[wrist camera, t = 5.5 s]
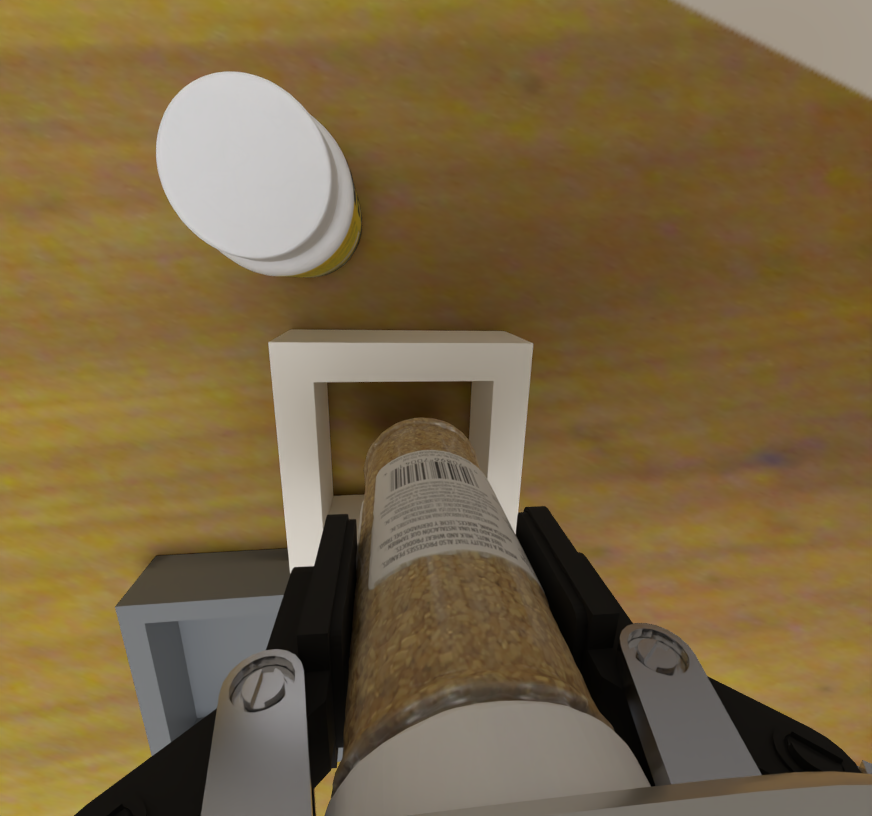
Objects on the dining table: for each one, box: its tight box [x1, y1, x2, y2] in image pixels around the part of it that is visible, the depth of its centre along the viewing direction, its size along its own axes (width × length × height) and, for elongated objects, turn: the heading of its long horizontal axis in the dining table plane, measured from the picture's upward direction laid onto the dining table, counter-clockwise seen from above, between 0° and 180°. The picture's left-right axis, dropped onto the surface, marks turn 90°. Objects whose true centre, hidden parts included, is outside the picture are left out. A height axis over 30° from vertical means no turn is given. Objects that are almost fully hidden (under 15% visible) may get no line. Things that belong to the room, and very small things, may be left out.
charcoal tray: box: [115, 548, 343, 762], centre depth 22 cm, size 15×11×4 cm
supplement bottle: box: [156, 72, 362, 278], centre depth 14 cm, size 5×5×8 cm
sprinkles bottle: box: [325, 417, 651, 816], centre depth 11 cm, size 5×5×13 cm
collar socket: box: [268, 329, 533, 574], centre depth 19 cm, size 10×10×4 cm
